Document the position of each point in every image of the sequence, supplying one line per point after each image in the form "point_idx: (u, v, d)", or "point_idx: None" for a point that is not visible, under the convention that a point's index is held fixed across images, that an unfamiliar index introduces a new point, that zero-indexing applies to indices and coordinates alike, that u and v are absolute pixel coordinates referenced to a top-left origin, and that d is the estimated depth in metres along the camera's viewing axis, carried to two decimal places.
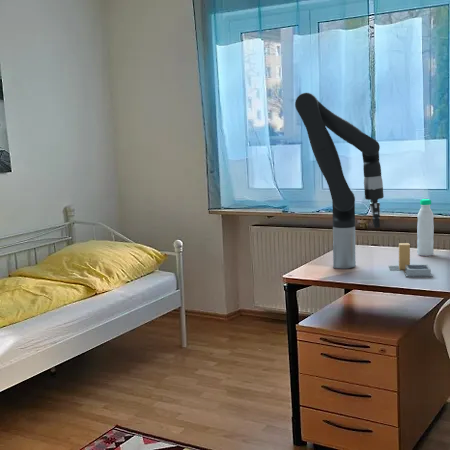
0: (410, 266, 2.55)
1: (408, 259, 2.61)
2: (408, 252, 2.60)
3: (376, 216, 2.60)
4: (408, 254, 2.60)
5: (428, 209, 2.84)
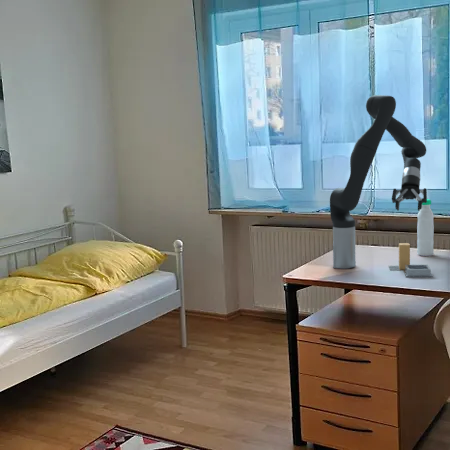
0: (410, 266, 2.55)
1: (408, 259, 2.61)
2: (408, 252, 2.60)
3: (426, 199, 2.71)
4: (408, 254, 2.60)
5: (428, 209, 2.84)
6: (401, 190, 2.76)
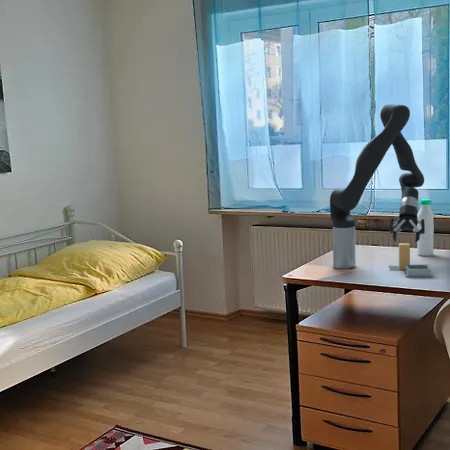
0: (410, 266, 2.55)
1: (408, 259, 2.61)
2: (408, 252, 2.60)
3: (424, 231, 2.67)
4: (408, 254, 2.60)
5: (428, 209, 2.84)
6: (399, 220, 2.73)
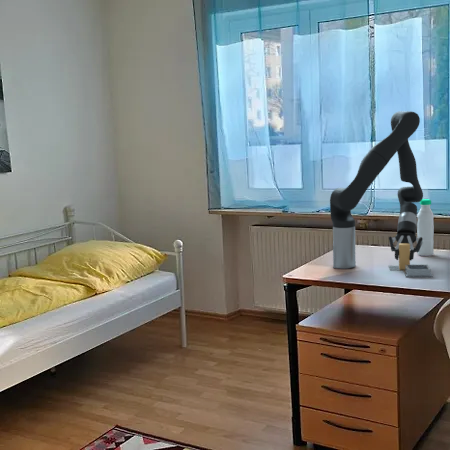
0: (410, 266, 2.55)
1: (408, 259, 2.61)
2: (408, 252, 2.60)
3: None
4: (408, 254, 2.60)
5: (428, 209, 2.84)
6: (397, 237, 2.67)
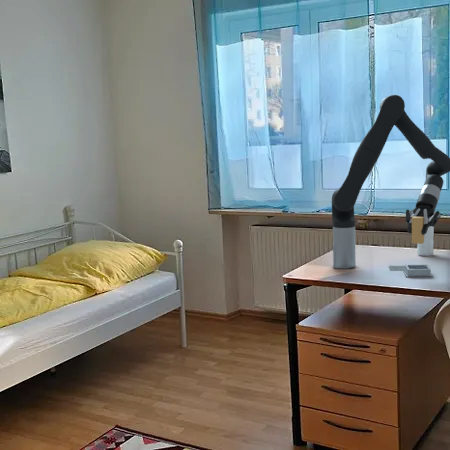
0: (410, 266, 2.55)
1: (420, 233, 2.47)
2: (420, 226, 2.47)
3: (433, 223, 2.47)
4: (420, 228, 2.47)
5: None
6: (414, 210, 2.54)
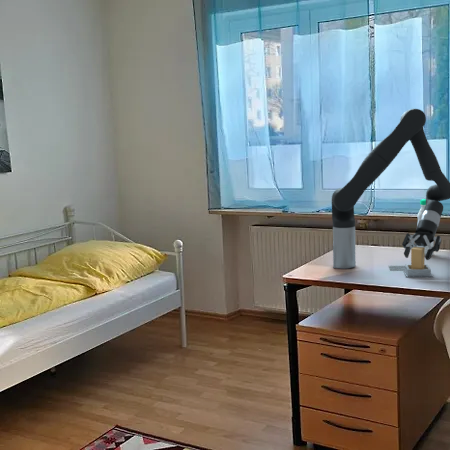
0: (410, 266, 2.55)
1: (420, 264, 2.49)
2: (420, 257, 2.49)
3: (437, 248, 2.48)
4: (420, 259, 2.49)
5: None
6: (414, 235, 2.55)
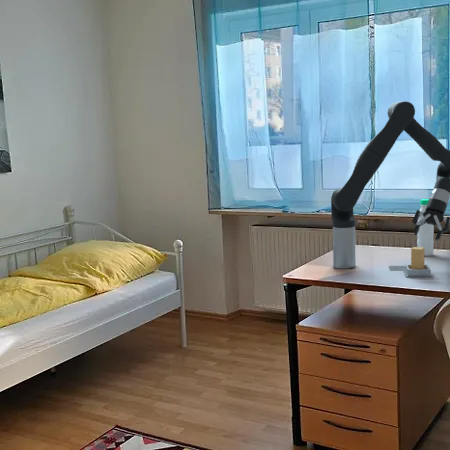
0: (410, 266, 2.55)
1: (420, 264, 2.49)
2: (420, 257, 2.49)
3: (446, 230, 2.59)
4: (420, 259, 2.49)
5: None
6: (424, 213, 2.65)
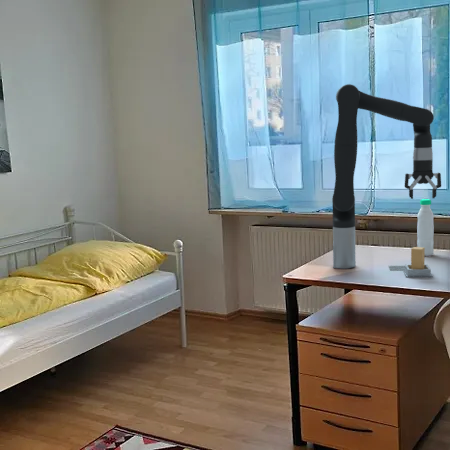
0: (410, 266, 2.55)
1: (420, 264, 2.49)
2: (420, 257, 2.49)
3: None
4: (420, 259, 2.49)
5: (428, 209, 2.84)
6: (414, 175, 2.63)
